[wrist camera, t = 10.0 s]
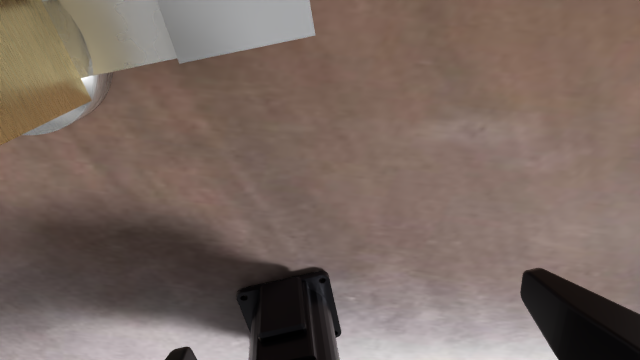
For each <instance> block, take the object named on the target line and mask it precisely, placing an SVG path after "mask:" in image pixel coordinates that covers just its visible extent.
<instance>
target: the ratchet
mask: <svg viewBox="0 0 640 360" xmlns="http://www.w3.org/2000/svg"><path fill="white" fill-rule="evenodd" d="M42 2H43V4H44V6H45V8H46V10H47V12H48V14H49V16H50V18H51V20H52V22H53V24H54V26H55V28H56V30H57V32H58V34H59V36H60V38H61V40H62V42H63V44H64V46H65V48H66V50H67V52H68V54H69V56H70V58H71V60H72V62H73V64H74V66H75V68H76V70H77V72H78V74H79V76H80V78H81V80H82V82H83V84H84V86H85V88H86V90H87V92H88V94H89V96H90V98H91V100H92V101H90V102H88V103H86V104H84V105H82V106H80V107H78V108H76V109H74V110H72V111H69V112H67V113H65V114H63V115H61V116H59V117H57V118H55V119H53V120H51V121H49V122H47V123H45V124H43V125H41V126H39V127H37V128H35V129H32V130H30V131H28V132H26V133H24V134H22V135H39V134H46V133H50V132H53V131H57V130H59V129H61V128H63V127H65V126H67V125H69V124H71V123H73V122H75V121H76V120H78V119H80V118H82V117H84V116H86V115H87V114H89V113H90V112H92V111H93V110H94V109H96V108H97V107H98V106H99V105H100V103H101V102H102V101H103V100H104V98H105V96H106V95H107V93H108V91H109V88H110V85H111V80H112V75H113V71H118V70H122V69H127V68H132V67H137V66H142V65H147V64H151V63H156V62H161V61H166V60H171V59H176V58H178V61H179V63H184V62H189V61H194V60H199V59H204V58H208V57H213V56H218V55H223V54H228V53H233V52H237V51H242V50H247V49H252V48H257V47H261V46H266V45H271V44H276V43H281V42H286V41H290V40H295V39H300V38H305V37H310V36H314V35H315V30H314V25H313V19H312V13H311V7H310V2H309V0H42Z"/></svg>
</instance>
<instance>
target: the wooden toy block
mask: <svg viewBox="0 0 640 360" xmlns="http://www.w3.org/2000/svg"><path fill="white" fill-rule="evenodd" d="M90 101H92V100H91V98H90V96H89V94H88V92H87V90H86V88H85V86H84V84H83V82H82V80H81V78H80V76H79V74H78V72H77V70H76V68H75V66H74V64H73V62H72V60H71V58H70V56H69V54H68V52H67V50H66V48H65V46H64V44H63V42H62V40H61V38H60V36H59V34H58V32H57V30H56V28H55V26H54V24H53V22H52V20H51V18H50V16H49V14H48V12H47V10H46V8H45V6H44V4H43V2H42V0H0V145H2V144H4V143H6V142H8V141H10V140H12V139H14V138H16V137H18V136H20V135H22V134H24V133H26V132H28V131H30V130H32V129H35V128H37V127H39V126H41V125H43V124H45V123H47V122H49V121H51V120H53V119H55V118H57V117H59V116H61V115H63V114H65V113H67V112H69V111H72V110H74V109H76V108H78V107H80V106H82V105H84V104H86V103H88V102H90Z"/></svg>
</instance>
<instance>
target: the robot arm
mask: <svg viewBox="0 0 640 360" xmlns="http://www.w3.org/2000/svg"><path fill="white" fill-rule="evenodd" d="M320 278H324V279H320ZM520 293H521V298H522V301H523V302H524V304H525V306H526V308H527V309H528V311H529V312H530V314H531V316H532V317H533V319H534V321H535V322H536V324H537V326H538V327H539V329H540V331H541V332H542V334H543V336H544V337H545V339H546V341H547V342H548V344H549V346H550V347H551V349H552V350H553V352H554V354H555V355H556V357H557V358H558V360H640V314H638V313H636V312H634V311H632V310H630V309H628V308H625V307H623V306H621V305H619V304H617V303H615V302H613V301H611V300H608V299H606V298H604V297H602V296H600V295H598V294H596V293H594V292H591V291H589V290H587V289H585V288H583V287H581V286H579V285H576V284H574V283H572V282H570V281H568V280H566V279H564V278H562V277H559V276H557V275H555V274H553V273H551V272H549V271H547V270H545V269H542V268H535V269H530V270H526V271H525V272H524V273H523V277H522V284H521V291H520ZM243 295H246V296H243ZM237 301H238V304H239V306H240V308H241V311H242V313H243V316H244V318H245V321H246V323H247V325H248V328H249V330H250V333H251V335H250V348H249V360H340V359H339V353H338V348H337V343H336V337H338V336H340V335H341V329H340V324H339V320H338V315H337V311H336V306H335V302H334V297H333V293H332V288H331V284H330V279H329V275H328V273H327V272H325V271H319V272H315V273H310V274H306V275H301V276H297V277H292V278H288V279H283V280H279V281H274V282H270V283H265V284H261V285H256V286H252V287H247V288H243V289H240V290H239V291H238V293H237ZM165 360H197V359H196V357H195V355H194V353H193V351H192V350H191V348H190V347H182V348H178V349H174V350H173V351H172V352H171V353H170V354H169V355H168V356H167V358H166V359H165Z"/></svg>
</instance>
